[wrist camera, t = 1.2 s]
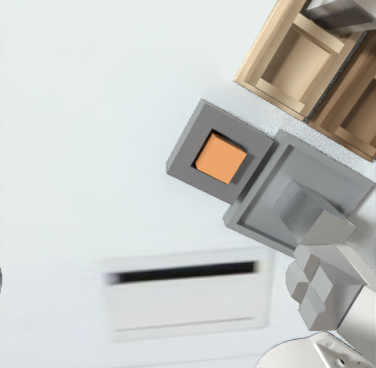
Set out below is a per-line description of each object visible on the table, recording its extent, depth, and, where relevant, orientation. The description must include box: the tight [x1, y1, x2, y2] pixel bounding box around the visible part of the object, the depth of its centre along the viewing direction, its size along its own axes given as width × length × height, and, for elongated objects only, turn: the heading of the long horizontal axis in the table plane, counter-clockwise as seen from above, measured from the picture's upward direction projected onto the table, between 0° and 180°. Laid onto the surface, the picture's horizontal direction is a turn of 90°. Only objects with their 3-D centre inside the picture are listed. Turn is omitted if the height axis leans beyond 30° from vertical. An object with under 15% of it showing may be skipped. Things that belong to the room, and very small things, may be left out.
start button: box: [195, 132, 247, 184], centre depth 36 cm, size 4×4×3 cm
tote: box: [223, 129, 375, 258], centre depth 42 cm, size 14×14×2 cm
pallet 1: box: [233, 0, 376, 121], centre depth 30 cm, size 10×16×10 cm, turn 151°
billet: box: [272, 179, 357, 244], centre depth 38 cm, size 4×5×9 cm
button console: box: [166, 99, 274, 205], centre depth 38 cm, size 9×9×4 cm
